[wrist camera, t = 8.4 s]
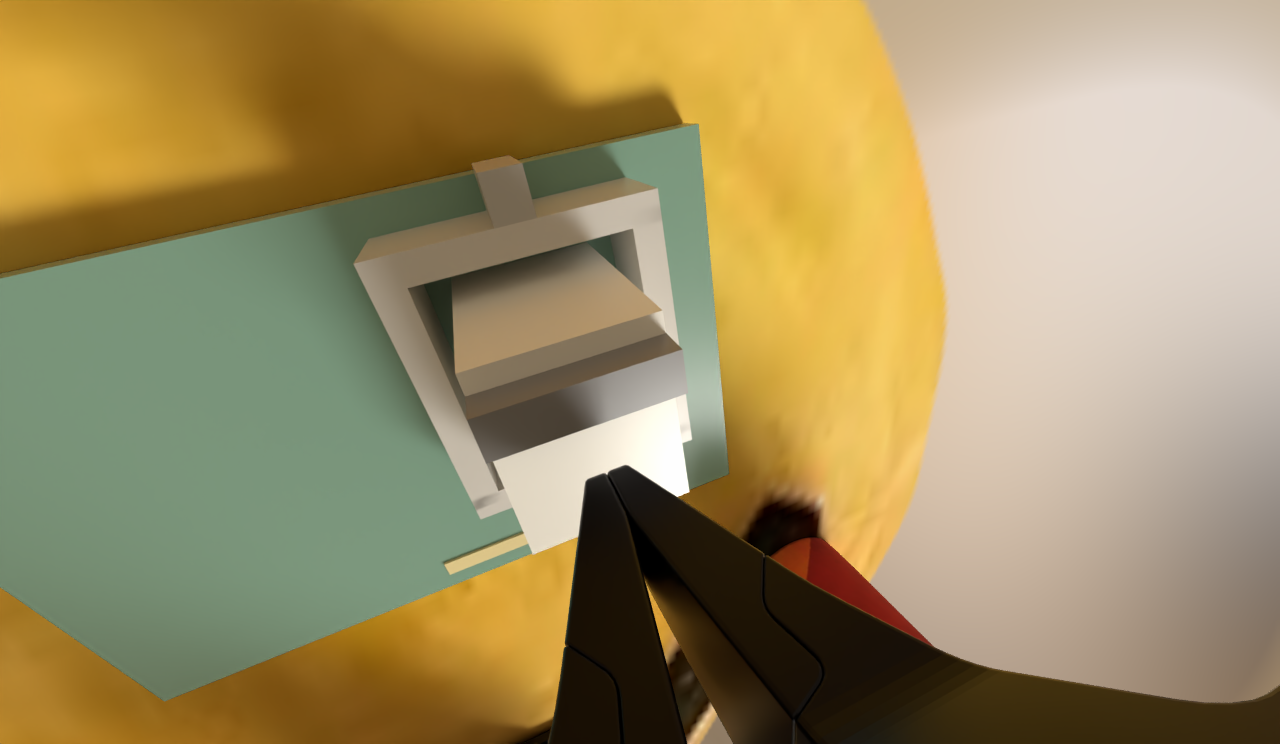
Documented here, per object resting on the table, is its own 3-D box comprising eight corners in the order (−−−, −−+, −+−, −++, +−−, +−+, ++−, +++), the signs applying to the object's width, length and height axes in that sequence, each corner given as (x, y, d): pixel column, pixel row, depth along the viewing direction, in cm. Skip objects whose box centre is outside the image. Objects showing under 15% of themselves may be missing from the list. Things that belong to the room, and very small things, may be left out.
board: (718, 460, 22) (760, 513, 19) (178, 673, 17) (124, 786, 14) (682, 114, 14) (742, 113, 12) (-285, 322, 10) (-594, 409, 7)
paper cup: (741, 544, 25) (989, 902, 14) (856, 508, 28) (1151, 789, 16) (729, 633, 29) (916, 974, 18) (831, 595, 31) (1056, 874, 20)
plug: (617, 380, 17) (704, 514, 11) (505, 417, 16) (538, 583, 10) (586, 242, 14) (679, 324, 9) (451, 277, 13) (455, 395, 8)
